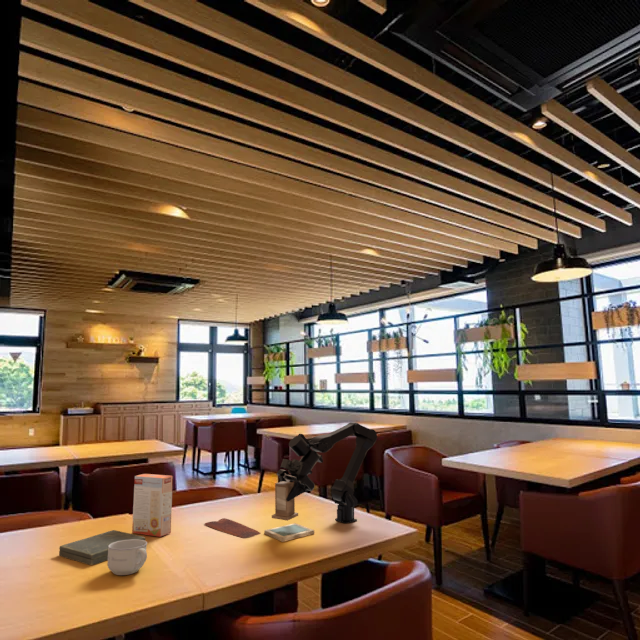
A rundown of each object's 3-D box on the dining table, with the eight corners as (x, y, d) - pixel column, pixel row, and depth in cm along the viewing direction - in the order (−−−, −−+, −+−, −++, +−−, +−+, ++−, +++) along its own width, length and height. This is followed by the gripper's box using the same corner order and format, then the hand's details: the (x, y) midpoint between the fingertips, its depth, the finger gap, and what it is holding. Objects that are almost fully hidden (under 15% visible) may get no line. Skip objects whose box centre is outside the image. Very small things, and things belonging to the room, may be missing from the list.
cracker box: (171, 533, 174) (173, 475, 177) (160, 538, 169) (162, 478, 172) (143, 528, 180) (145, 472, 183) (131, 533, 174) (133, 475, 177)
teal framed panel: (295, 526, 181) (295, 522, 181) (314, 533, 171) (314, 530, 172) (264, 533, 172) (264, 529, 172) (282, 541, 163) (282, 537, 163)
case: (91, 567, 143) (145, 548, 160) (92, 553, 143) (146, 535, 160) (58, 557, 152) (113, 540, 169) (59, 544, 152) (113, 528, 169)
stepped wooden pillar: (282, 513, 176) (282, 480, 178) (298, 515, 173) (297, 482, 174) (271, 518, 170) (271, 484, 172) (287, 520, 167) (287, 485, 168)
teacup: (101, 571, 138) (102, 543, 139) (137, 562, 146) (138, 535, 147) (119, 585, 128) (121, 554, 129) (157, 574, 136) (158, 545, 137)
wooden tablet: (202, 526, 184) (202, 522, 185) (224, 521, 191) (224, 516, 192) (242, 541, 166) (242, 536, 166) (264, 534, 173) (264, 529, 173)
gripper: (280, 448, 185) (255, 480, 177) (307, 453, 170) (281, 489, 162) (297, 466, 188) (274, 499, 180) (325, 472, 173) (300, 509, 165)
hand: (281, 498), depth 172 cm, fingers closed on stepped wooden pillar, 7 cm apart
